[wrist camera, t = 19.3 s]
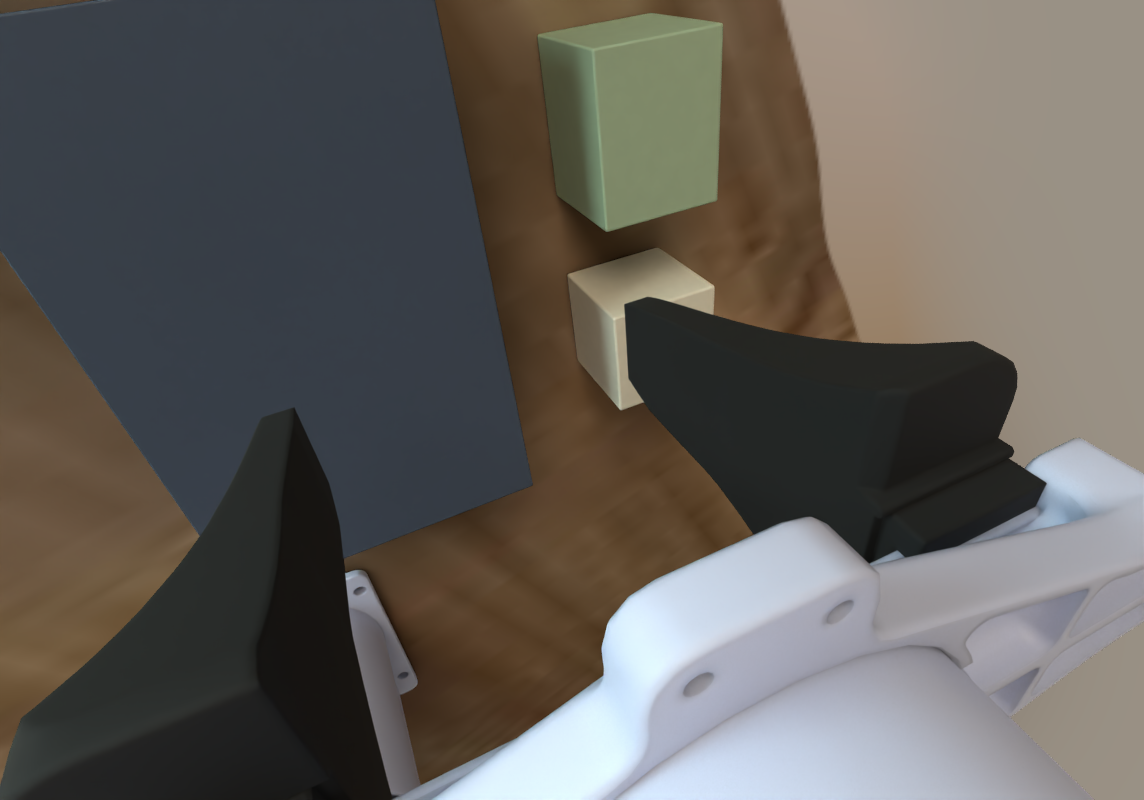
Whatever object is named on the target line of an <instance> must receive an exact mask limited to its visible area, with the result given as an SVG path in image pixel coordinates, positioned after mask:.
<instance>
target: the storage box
mask: <svg viewBox="0 0 1144 800" xmlns="http://www.w3.org/2000/svg"><path fill="white" fill-rule="evenodd" d="M0 251H1V252H2V254H3V255H4V257H5V258H6V260H7V261H8V262H9V264H10V265H11V267H12V268H13V270H14V271H15V272H16V274H17V275H18V277H19V278H20V280H21V281H22V282H23V284H24V285H25V287H26V288H27V290H28V291H29V292H30V294H31V295H32V297H33V298H34V300H35V301H36V302H37V304H38V305H39V307H40V308H41V310H42V311H43V312H44V314H45V315H46V317H47V318H48V320H49V321H50V322H51V324H52V325H53V327H54V328H55V330H56V331H57V332H58V334H59V335H60V337H61V338H62V340H63V341H64V343H65V344H66V345H67V347H68V348H69V350H70V351H71V353H72V354H73V355H74V357H75V358H76V360H77V361H78V363H79V364H80V365H81V367H82V368H83V370H84V371H85V373H86V374H87V375H88V377H89V378H90V380H91V381H92V383H93V384H94V385H95V387H96V388H97V390H98V391H99V393H100V394H101V395H102V397H103V398H104V400H105V401H106V403H107V404H108V405H109V407H110V408H111V410H112V411H113V413H114V414H115V415H116V417H117V418H118V420H119V421H120V423H121V424H122V425H123V427H124V428H125V430H126V431H127V433H128V434H129V435H130V437H131V438H132V440H133V441H134V443H135V444H136V446H137V447H138V448H139V450H140V451H141V453H142V454H143V456H144V457H145V458H146V460H147V461H148V463H149V464H150V466H151V467H152V468H153V470H154V471H155V473H156V474H157V476H158V477H159V478H160V480H161V481H162V483H163V484H164V486H165V487H166V488H167V490H168V491H169V493H170V494H171V496H172V497H173V498H174V500H175V501H176V503H177V504H178V506H179V507H180V508H181V510H182V511H183V513H184V514H185V516H186V517H187V518H188V520H189V521H190V523H191V524H192V526H193V527H194V528H195V530H196V531H197V533H198V534H199V536H200V535H201V534H202V532H203V531H204V529H205V528H206V526H207V525H208V523H209V521H210V519H211V518H212V516H213V514H214V512H215V511H216V509H217V507H218V506H219V504H220V502H221V500H222V499H223V497H224V495H225V493H226V491H227V490H228V488H229V486H230V484H231V482H232V480H233V478H234V476H235V474H236V472H237V469H238V467H239V465H240V463H241V461H242V459H243V457H244V455H245V452H246V450H247V448H248V446H249V443H250V441H251V439H252V436H253V434H254V432H255V429H256V427H257V425H258V423H259V421H260V420H261V418H262V417H264V416H268V415H271V414H274V413H277V412H280V411H284V410H287V409H290V408H293V407H294V408H295V410H296V412H297V414H298V416H299V419H300V421H301V423H302V425H303V427H304V429H305V432H306V434H307V436H308V438H309V440H310V442H311V445H312V447H313V449H314V451H315V453H316V455H317V458H318V460H319V462H320V464H321V466H322V468H323V471H324V473H325V475H326V477H327V479H328V482H329V484H330V488H331V492H332V496H333V500H334V503H335V507H336V511H337V515H338V520H339V524H340V531H341V540H342V549H343V558H346V557H349V556H352V555H354V554H357V553H359V552H362V551H365V550H367V549H370V548H372V547H375V546H377V545H380V544H383V543H385V542H388V541H390V540H393V539H396V538H398V537H401V536H403V535H406V534H408V533H411V532H414V531H416V530H419V529H421V528H424V527H427V526H429V525H432V524H434V523H437V522H439V521H442V520H445V519H447V518H450V517H452V516H455V515H458V514H460V513H463V512H465V511H468V510H470V509H473V508H476V507H478V506H481V505H483V504H486V503H489V502H491V501H494V500H496V499H499V498H502V497H504V496H507V495H509V494H512V493H514V492H517V491H520V490H522V489H525V488H527V487H530V486H532V485H533V483H532V478H531V473H530V468H529V463H528V458H527V453H526V448H525V444H524V439H523V434H522V429H521V424H520V419H519V414H518V409H517V404H516V399H515V394H514V389H513V384H512V379H511V374H510V369H509V364H508V359H507V354H506V349H505V344H504V340H503V335H502V330H501V325H500V320H499V315H498V310H497V305H496V300H495V295H494V290H493V285H492V280H491V275H490V270H489V265H488V260H487V255H486V250H485V245H484V240H483V236H482V231H481V226H480V221H479V216H478V211H477V206H476V201H475V196H474V191H473V186H472V181H471V176H470V171H469V166H468V161H467V156H466V151H465V146H464V141H463V137H462V132H461V127H460V122H459V117H458V112H457V107H456V102H455V97H454V92H453V87H452V82H451V77H450V72H449V67H448V62H447V57H446V52H445V47H444V42H443V37H442V33H441V28H440V23H439V18H438V13H437V8H436V3H435V0H93V1H86V2H79V3H72V4H65V5H58V6H51V7H44V8H37V9H30V10H23V11H16V12H9V13H3V14H0Z"/></svg>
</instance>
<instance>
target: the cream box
mask: <svg viewBox="0 0 1144 800" xmlns="http://www.w3.org/2000/svg"><path fill="white" fill-rule="evenodd" d="M567 278H568V287H569V295H570V303H571V311H572V320H573V328H574V336H575V344H576V353H577V360H578V361H579V362H580V363H581V365H582V366H583V367H584V368H585V369H586V370H587V372H588V373H589V374H590V375H591V376H592V378H593V379H594V380H595V381H596V382H597V383H598V385H599V386H600V387H601V388H602V389H603V390H604V392H605V393H606V394H607V395H608V396H609V397H610V399H611V400H612V401H613V402H614V403H615V404H616V406H617V407H618V408H619V409H620V410H624V409H627V408H630V407H632V406H635V405H638V404H640V403H643V402H644V401H643V400H642V399H641V397H640V396H639V394H638V393H637V391H636V390H635V388H634V387H633V385H632V384H631V382H630V380H629V379H628V364H627V346H626V329H625V311H624V304H626V303H629V302H632V301H635V300H639V299H642V298H645V297H653V298H658V299H662V300H665V301H669V302H673V303H676V304H679V305H683V306H686V307H689V308H692V309H696V310H699V311H702V312H705V313H709V314H712V315H714V290H715V288H714V285H712V284H711V283H709V282H708V281H706V280H705V279H703V278H702V277H701V276H699V275H698V274H696V273H695V272H693V271H692V270H690V269H689V268H687V267H686V266H685V265H683V264H682V263H680V262H679V261H677V260H676V259H674V258H673V257H671V256H670V255H669V254H667V253H666V252H664V251H663V250H661V249H660V248H653V249H650V250H647V251H643V252H640V253H637V254H633V255H630V256H627V257H623V258H620V259H616V260H613V261H610V262H606V263H603V264H600V265H596V266H593V267H590V268H586V269H583V270H580V271H576V272H573V273H569V274H568V275H567Z"/></svg>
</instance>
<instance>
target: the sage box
mask: <svg viewBox="0 0 1144 800" xmlns="http://www.w3.org/2000/svg"><path fill="white" fill-rule="evenodd" d="M537 38H538V46H539V54H540V62H541V70H542V79H543V87H544V95H545V103H546V111H547V120H548V128H549V136H550V144H551V152H552V161H553V169H554V177H555V185H556V193H557V196H558V197H560V198H561V199H562V200H564V201H565V202H567V203H568V204H569V205H571V206H572V207H573V208H575V209H576V210H577V211H579V212H580V213H581V214H583V215H584V216H585V217H587V218H588V219H589V220H591V221H592V222H594V223H595V224H596V225H598V226H599V227H600V228H602V229H603V230H604V231H606V232H609V231H613V230H616V229H620V228H623V227H627V226H630V225H634V224H637V223H641V222H645V221H648V220H652V219H655V218H659V217H662V216H666V215H669V214H673V213H676V212H680V211H683V210H687V209H690V208H694V207H697V206H701V205H704V204H708V203H711V202H715V201H717V191H718V162H719V132H720V103H721V74H722V44H723V24H722V23H718V22H711V21H704V20H697V19H690V18H682V17H675V16H668V15H661V14H654V13H648V14H643V15H638V16H632V17H627V18H622V19H616V20H611V21H606V22H600V23H595V24H590V25H584V26H579V27H574V28H568V29H563V30H558V31H552V32H547V33H542V34H539V35H538V37H537Z"/></svg>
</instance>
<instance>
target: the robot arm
mask: <svg viewBox="0 0 1144 800" xmlns="http://www.w3.org/2000/svg"><path fill="white" fill-rule="evenodd" d="M624 311H625V329H626V346H627V364H628V379H629V380H630V382H631V384H632V385H633V387H634V388H635V390H636V391H637V393H638V394H639V396H640V397H641V399H642V400H643V401H644V403H645V404H646V406H647V407H648V409H649V410H650V411H651V412H652V413H653V415H654V416H655V417H656V418H657V419H658V420H659V421H660V422H661V423H662V424H663V426H664V427H665V428H666V429H667V430H668V431H669V432H670V433H671V434H672V435H673V436H674V437H675V438H676V440H677V441H678V442H679V443H680V444H681V445H682V446H683V447H684V448H685V449H686V450H687V451H688V452H689V453H690V454H691V456H692V457H693V458H694V459H695V460H696V461H697V462H698V463H699V464H700V465H701V466H702V467H703V468H704V469H705V470H706V472H707V473H708V474H709V475H710V476H711V477H712V479H713V480H714V481H715V482H716V483H717V484H718V486H719V487H720V488H721V490H722V491H723V492H724V494H725V495H726V497H727V498H728V499H729V501H730V502H731V503H732V505H733V506H734V507H735V509H736V510H737V511H738V513H739V514H740V516H741V517H742V518H743V520H744V521H745V523H746V524H747V526H748V527H749V529H750V530H751V532H752V533H753V534H754V535H752V536H750V537H748V538H746V539H743V540H741V541H739V542H737V543H735V544H732V545H730V546H728V547H726V548H723V549H721V550H719V551H717V552H715V553H712V554H710V555H708V556H706V557H703V558H701V559H699V560H697V561H695V562H692V563H690V564H688V565H686V566H683V567H681V568H679V569H677V570H675V571H672V572H670V573H668V574H666V575H663V576H661V577H659V578H657V579H655V580H653V581H652V582H650V583H649V584H647V585H646V586H644V587H643V588H641V589H640V590H638V591H636V592H635V593H633V594H632V595H630V596H629V597H628V598H627V599H626V600H625V602H624V603H623V604H622V605H621V606H620V608H619V609H618V610H617V611H616V612H615V614H614V615H613V616H612V617H611V618H610V620H609V622H608V625H607V628H606V632H605V636H604V640H603V644H602V648H601V649H602V657H603V665H604V676H602V677H601V678H599V679H598V680H596V681H595V682H594V683H592V684H591V685H590V686H588V687H587V688H585V689H584V690H583V691H581V692H580V693H578V694H577V695H576V696H574V697H573V698H572V699H570V700H569V701H567V702H566V703H565V704H563V705H562V706H560V707H559V708H558V709H556V710H555V711H554V712H552V713H551V714H549V715H548V716H547V717H545V718H544V719H542V720H541V721H540V722H538V723H537V724H536V725H534V726H533V727H531V728H530V729H529V730H527V731H526V732H524V733H523V734H522V735H520V736H519V737H518V738H516V739H514V740H512V741H510V742H508V743H506V744H503V745H501V746H499V747H497V748H495V749H493V750H491V751H489V752H487V753H485V754H483V755H481V756H479V757H477V758H475V759H473V760H471V761H469V762H467V763H465V764H463V765H461V766H459V767H457V768H455V769H453V770H451V771H449V772H447V773H445V774H443V775H441V776H439V777H437V778H435V779H433V780H431V781H429V782H426V783H424V784H422V785H420V781H419V777H418V772H417V768H416V764H415V759H414V755H413V750H412V746H411V742H410V737H409V733H408V728H407V724H406V720H405V715H404V711H403V707H402V702H401V698H400V695H401V694H404V693H406V692H408V691H410V690H412V689H414V688H415V687H416V686H417V683H418V681H417V677H416V674H415V672H414V670H413V668H412V666H411V664H410V662H409V660H408V658H407V656H406V653H405V651H404V649H403V647H402V645H401V643H400V641H399V639H398V637H397V635H396V633H395V631H394V629H393V627H392V625H391V622H390V620H389V618H388V616H387V614H386V612H385V610H384V608H383V606H382V604H381V602H380V600H379V598H378V596H377V593H376V591H375V589H374V587H373V585H372V583H371V581H370V579H369V577H368V575H367V573H366V572H365V571H363V570H353V571H350V572H348V573H345V567H344V558H343V549H342V540H341V531H340V524H339V520H338V515H337V511H336V507H335V503H334V500H333V496H332V492H331V488H330V484H329V482H328V479H327V477H326V475H325V473H324V471H323V468H322V466H321V464H320V462H319V460H318V458H317V455H316V453H315V451H314V449H313V447H312V445H311V442H310V440H309V438H308V436H307V434H306V432H305V429H304V427H303V425H302V423H301V421H300V419H299V416H298V414H297V412H296V410H295V408H294V407H293V408H290V409H287V410H284V411H280V412H277V413H274V414H271V415H268V416H264V417H262V418H261V420H260V421H259V423H258V425H257V427H256V429H255V432H254V434H253V436H252V439H251V441H250V443H249V446H248V448H247V450H246V452H245V455H244V457H243V459H242V461H241V463H240V465H239V467H238V469H237V472H236V474H235V476H234V478H233V480H232V482H231V484H230V486H229V488H228V490H227V491H226V493H225V495H224V497H223V499H222V500H221V502H220V504H219V506H218V507H217V509H216V511H215V512H214V514H213V516H212V518H211V519H210V521H209V523H208V525H207V526H206V528H205V529H204V531H203V532H202V534H201V535H200V537H199V538H198V540H197V541H196V543H195V544H194V545H193V547H192V548H191V549H190V551H189V552H188V554H187V555H186V556H185V558H184V559H183V560H182V562H181V563H180V564H179V566H178V567H177V568H176V569H175V571H174V572H173V573H172V574H171V575H170V576H169V578H168V579H167V580H166V581H165V582H164V583H163V585H162V586H161V587H160V588H159V589H158V590H157V591H156V593H155V594H154V595H153V596H152V597H151V598H150V600H149V601H148V602H147V603H146V604H145V605H144V607H143V608H142V609H141V610H140V611H139V612H138V613H137V614H136V615H135V616H134V617H133V618H132V619H131V620H130V621H129V622H128V623H127V624H126V625H125V626H124V628H123V629H122V630H121V631H120V632H119V633H118V634H117V635H116V636H115V637H113V638H112V639H111V640H110V641H109V642H108V643H107V644H106V645H105V646H104V647H103V648H102V649H101V650H100V651H99V652H98V653H97V654H96V655H95V656H94V657H93V658H91V659H90V660H89V661H88V662H87V663H86V664H85V665H84V666H83V667H82V668H80V669H79V670H78V671H77V672H76V673H75V674H73V675H72V676H71V677H70V678H69V679H68V680H66V681H65V682H64V683H63V684H62V685H61V686H59V687H58V688H57V689H56V690H55V691H53V692H52V693H51V694H50V695H49V696H48V697H46V698H45V699H44V700H43V701H42V702H41V703H39V704H38V705H37V706H36V707H35V708H33V709H32V710H31V711H30V712H28V713H27V714H26V715H25V716H24V717H22V718H21V721H20V723H19V726H18V729H17V732H16V735H15V737H14V740H13V743H12V746H11V748H10V751H9V755H8V759H7V762H6V766H5V770H4V774H3V778H2V781H1V785H0V800H1094V799H1093V798H1092V797H1091V796H1090V795H1089V794H1088V793H1087V792H1086V791H1085V790H1084V789H1083V788H1082V787H1081V786H1080V785H1079V784H1078V783H1077V782H1076V781H1075V780H1074V779H1073V778H1072V777H1071V776H1070V775H1069V774H1068V773H1067V772H1066V771H1065V770H1064V769H1063V768H1061V767H1060V766H1059V765H1058V764H1057V763H1056V762H1055V761H1054V760H1053V759H1052V758H1051V757H1050V756H1049V755H1048V754H1047V753H1046V752H1045V751H1044V750H1043V749H1042V748H1041V747H1040V746H1039V745H1038V744H1037V743H1036V742H1035V741H1034V740H1033V739H1032V738H1031V737H1030V736H1029V735H1028V734H1027V733H1026V732H1025V731H1024V730H1022V729H1021V728H1020V727H1019V726H1018V725H1017V724H1016V723H1015V722H1014V721H1013V720H1012V719H1011V718H1010V717H1011V716H1013V715H1014V714H1015V713H1017V712H1018V711H1019V710H1021V709H1022V708H1023V707H1025V706H1026V705H1027V704H1029V703H1030V702H1031V701H1032V700H1034V699H1035V698H1037V697H1038V696H1039V695H1041V694H1042V693H1043V692H1045V691H1046V690H1047V689H1049V688H1050V687H1051V686H1053V685H1054V684H1055V683H1057V682H1058V681H1059V680H1061V679H1062V678H1063V677H1065V676H1066V675H1067V674H1069V673H1070V672H1072V671H1073V670H1074V669H1076V668H1077V667H1078V666H1080V665H1081V664H1083V663H1084V662H1085V661H1087V660H1088V659H1089V658H1091V657H1092V656H1094V655H1095V654H1096V653H1098V652H1099V651H1101V650H1102V649H1104V648H1105V647H1107V646H1108V645H1110V644H1111V643H1113V642H1114V641H1115V640H1117V639H1118V638H1120V637H1121V636H1123V635H1124V634H1126V633H1127V632H1129V631H1131V630H1132V629H1133V628H1135V627H1137V626H1138V625H1140V624H1141V623H1143V622H1144V473H1142V472H1140V471H1138V470H1137V469H1135V468H1133V467H1131V466H1129V465H1128V464H1126V463H1124V462H1122V461H1120V460H1119V459H1117V458H1115V457H1113V456H1111V455H1110V454H1108V453H1106V452H1105V451H1103V450H1101V449H1099V448H1097V447H1096V446H1094V445H1092V444H1090V443H1088V442H1087V441H1085V440H1083V439H1081V438H1075V439H1072V440H1070V441H1068V442H1065V443H1063V444H1061V445H1059V446H1057V447H1055V448H1053V449H1051V450H1049V451H1047V452H1045V453H1043V454H1041V455H1039V456H1038V457H1036V458H1034V459H1033V460H1032V461H1031V462H1030V463H1029V464H1028V465H1027V466H1026V467H1025V469H1024V468H1023V467H1021V466H1020V465H1018V464H1017V463H1015V462H1013V461H1012V460H1010V459H1009V458H1010V457H1012V456H1013V453H1014V450H1013V448H1012V446H1010V445H1008V444H1007V443H1005V442H1003V441H1002V440H1000V439H999V438H998V437H999V434H1000V432H1001V429H1002V427H1003V424H1004V422H1005V419H1006V417H1007V414H1008V412H1009V409H1010V407H1011V404H1012V402H1013V399H1014V395H1015V392H1016V389H1017V371H1016V368H1015V366H1014V363H1013V362H1012V361H1010V360H1009V359H1008V358H1006V357H1004V356H1002V355H1000V354H999V353H996V352H995V351H993V350H991V349H989V348H987V347H985V346H983V345H981V344H979V343H977V342H974V341H969V342H948V343H929V344H928V343H927V344H881V343H861V342H849V341H838V340H828V339H819V338H812V337H806V336H800V335H794V334H788V333H782V332H777V331H773V330H768V329H764V328H760V327H756V326H752V325H747V324H744V323H740V322H736V321H733V320H729V319H726V318H722V317H719V316H715V315H712V314H709V313H705V312H702V311H699V310H696V309H692V308H689V307H686V306H683V305H679V304H676V303H673V302H669V301H665V300H662V299H658V298H653V297H645V298H642V299H639V300H635V301H632V302H629V303H626V304H624ZM358 587H362V588H359V589H356V588H358Z"/></svg>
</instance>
